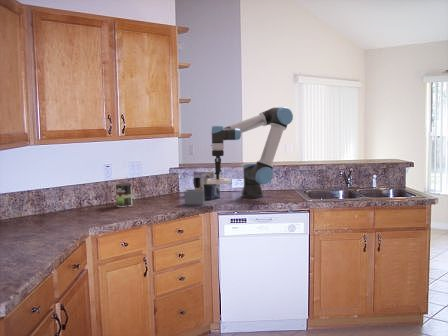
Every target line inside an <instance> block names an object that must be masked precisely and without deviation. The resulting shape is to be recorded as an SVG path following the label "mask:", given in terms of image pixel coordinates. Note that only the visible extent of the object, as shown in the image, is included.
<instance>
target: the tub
mask: <svg viewBox="0 0 448 336" xmlns="http://www.w3.org/2000/svg"><path fill="white" fill-rule="evenodd" d="M205 202H206V201H205V199H204V189H195V188H194V189H185V190H184V206H204V205H205Z"/></svg>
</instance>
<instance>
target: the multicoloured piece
mask: <svg viewBox="0 0 448 336" xmlns="http://www.w3.org/2000/svg"><path fill="white" fill-rule="evenodd" d="M132 187H133V184H132V183H117V184H115V196H116V198H115V200H116V207H118V208H128V207H127V206H129V207H133V191H132V190H133V189H132Z"/></svg>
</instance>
